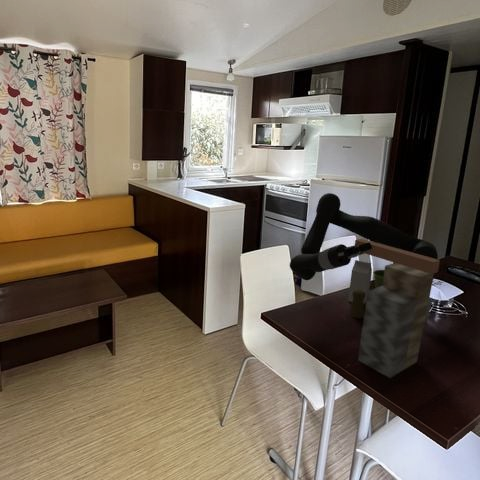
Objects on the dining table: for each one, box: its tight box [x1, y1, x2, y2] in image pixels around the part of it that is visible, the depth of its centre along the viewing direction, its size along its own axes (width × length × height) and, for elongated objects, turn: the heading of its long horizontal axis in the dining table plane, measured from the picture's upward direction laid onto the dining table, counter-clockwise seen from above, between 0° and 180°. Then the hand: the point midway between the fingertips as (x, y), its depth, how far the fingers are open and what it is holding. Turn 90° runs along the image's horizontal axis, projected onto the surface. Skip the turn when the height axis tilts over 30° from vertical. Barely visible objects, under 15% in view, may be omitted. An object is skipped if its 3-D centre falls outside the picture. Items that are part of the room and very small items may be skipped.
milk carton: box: [347, 259, 373, 305], centre depth 173 cm, size 7×7×19 cm
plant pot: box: [372, 269, 385, 288], centre depth 181 cm, size 12×12×11 cm
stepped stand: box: [357, 262, 434, 379], centre depth 124 cm, size 12×16×32 cm
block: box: [354, 238, 441, 274], centre depth 117 cm, size 26×4×4 cm, turn 38°
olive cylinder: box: [348, 290, 365, 319], centre depth 160 cm, size 6×6×11 cm
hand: (374, 244), depth 122 cm, fingers closed on block, 3 cm apart
